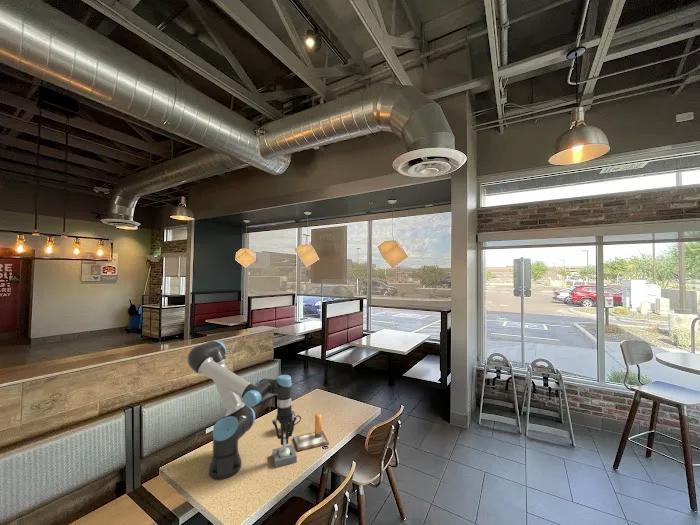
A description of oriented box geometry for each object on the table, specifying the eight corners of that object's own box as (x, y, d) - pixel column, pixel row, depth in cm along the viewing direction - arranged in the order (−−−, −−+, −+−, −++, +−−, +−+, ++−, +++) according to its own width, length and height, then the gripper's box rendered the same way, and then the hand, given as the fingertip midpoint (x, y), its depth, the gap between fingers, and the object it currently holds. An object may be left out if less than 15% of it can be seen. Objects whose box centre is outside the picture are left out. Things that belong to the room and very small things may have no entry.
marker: (315, 438, 170) (316, 417, 171) (313, 434, 174) (314, 414, 174) (322, 436, 172) (322, 416, 172) (320, 433, 176) (320, 413, 176)
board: (298, 451, 159) (298, 448, 160) (293, 438, 172) (293, 435, 173) (329, 444, 166) (329, 441, 166) (322, 432, 179) (322, 429, 179)
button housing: (275, 467, 147) (275, 461, 147) (272, 455, 157) (272, 449, 157) (296, 462, 151) (296, 456, 151) (292, 450, 161) (292, 444, 161)
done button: (279, 461, 150) (279, 455, 150) (277, 454, 155) (277, 448, 156) (291, 458, 152) (291, 452, 152) (289, 451, 158) (289, 446, 158)
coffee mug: (278, 431, 181) (278, 414, 181) (287, 424, 188) (287, 409, 189) (293, 435, 175) (293, 419, 176) (301, 429, 183) (301, 413, 183)
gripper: (272, 410, 149) (272, 457, 148) (297, 406, 154) (298, 451, 153) (271, 404, 156) (271, 449, 155) (295, 400, 161) (295, 443, 160)
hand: (284, 450), depth 154 cm, fingers closed
